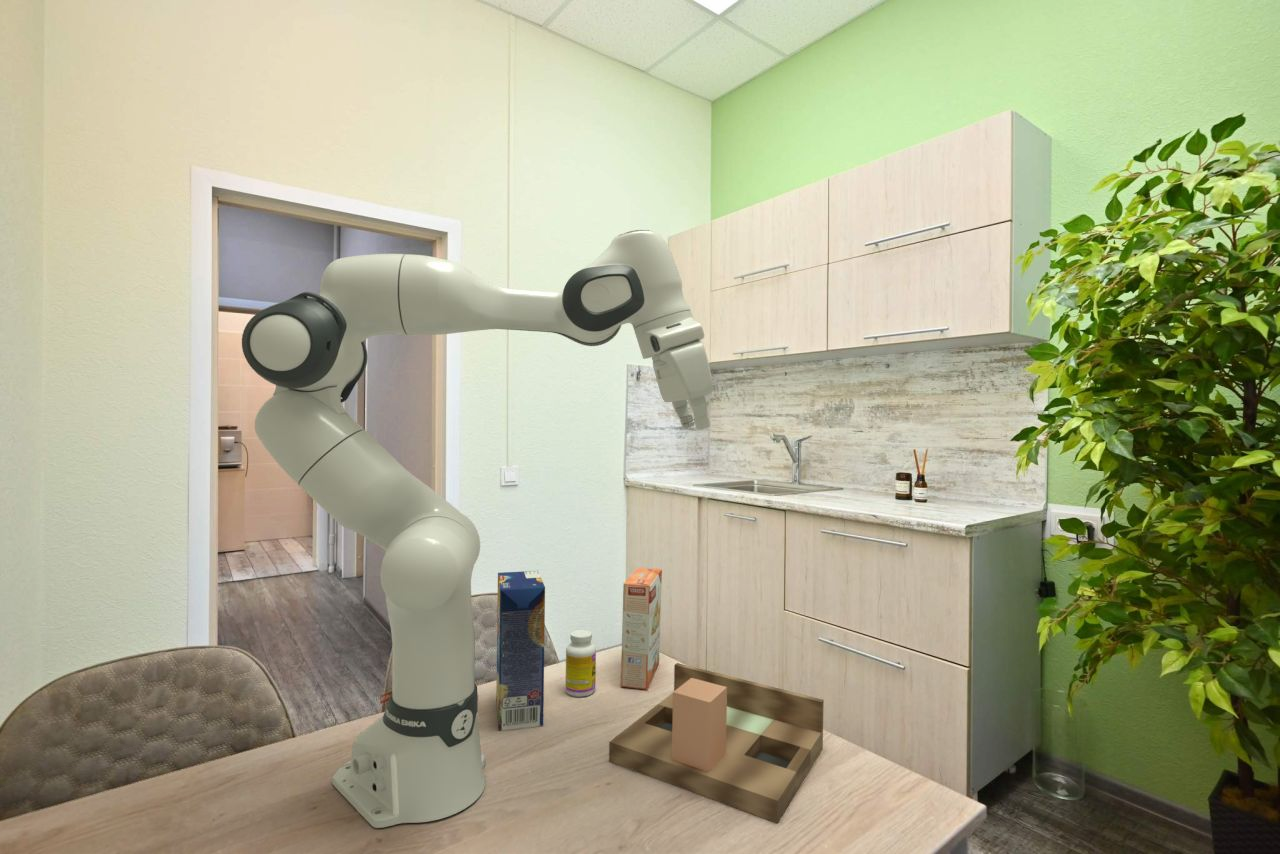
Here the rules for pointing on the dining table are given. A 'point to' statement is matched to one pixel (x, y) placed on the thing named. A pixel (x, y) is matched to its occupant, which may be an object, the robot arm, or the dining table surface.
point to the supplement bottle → (580, 664)
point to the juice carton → (520, 650)
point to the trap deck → (734, 745)
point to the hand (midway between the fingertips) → (696, 427)
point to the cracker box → (641, 627)
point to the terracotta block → (699, 724)
